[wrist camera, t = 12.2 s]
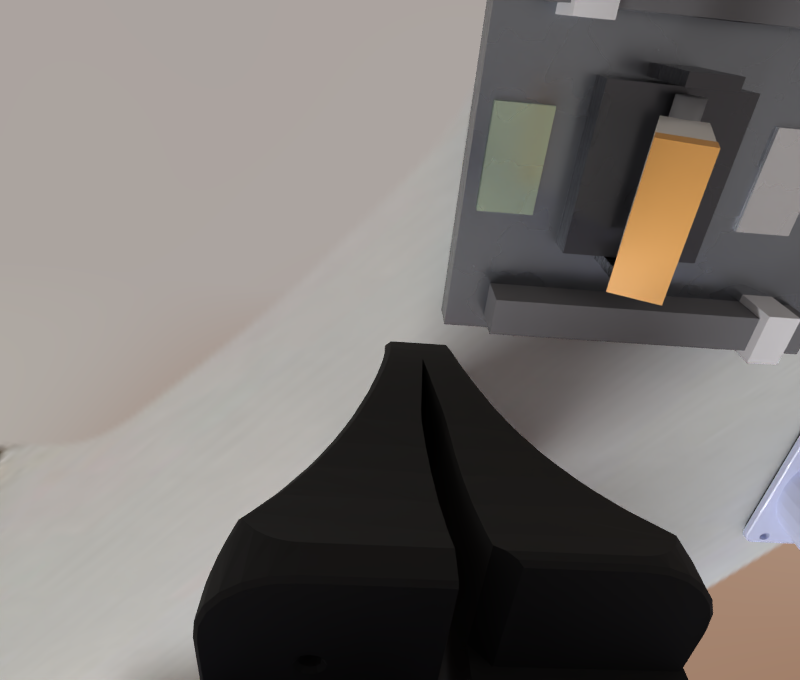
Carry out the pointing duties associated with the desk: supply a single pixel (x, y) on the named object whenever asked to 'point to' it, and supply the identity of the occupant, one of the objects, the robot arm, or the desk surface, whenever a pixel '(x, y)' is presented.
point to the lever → (665, 201)
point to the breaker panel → (623, 153)
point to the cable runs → (678, 316)
